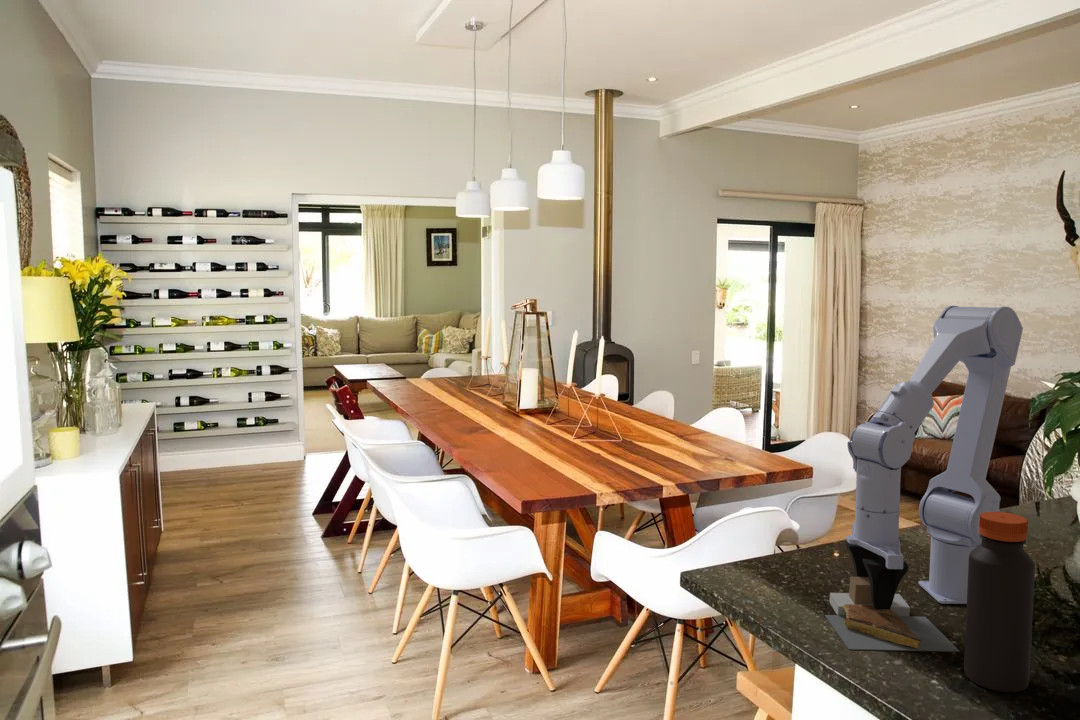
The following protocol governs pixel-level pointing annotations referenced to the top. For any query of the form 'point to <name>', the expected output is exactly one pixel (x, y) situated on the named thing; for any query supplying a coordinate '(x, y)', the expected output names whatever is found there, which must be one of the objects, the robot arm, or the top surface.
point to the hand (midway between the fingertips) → (874, 600)
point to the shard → (879, 624)
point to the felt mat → (865, 641)
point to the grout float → (864, 597)
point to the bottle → (999, 605)
